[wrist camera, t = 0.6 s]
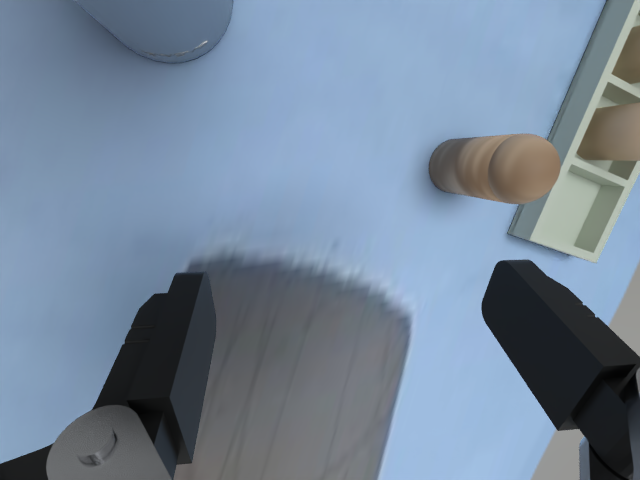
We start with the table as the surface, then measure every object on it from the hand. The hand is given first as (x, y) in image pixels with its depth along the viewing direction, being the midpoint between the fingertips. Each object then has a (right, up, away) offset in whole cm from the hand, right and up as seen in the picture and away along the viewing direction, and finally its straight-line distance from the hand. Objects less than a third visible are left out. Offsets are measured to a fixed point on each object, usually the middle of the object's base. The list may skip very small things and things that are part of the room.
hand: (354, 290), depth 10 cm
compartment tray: (+24, +11, +23) cm, 35 cm away
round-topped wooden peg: (+11, +8, +21) cm, 25 cm away
